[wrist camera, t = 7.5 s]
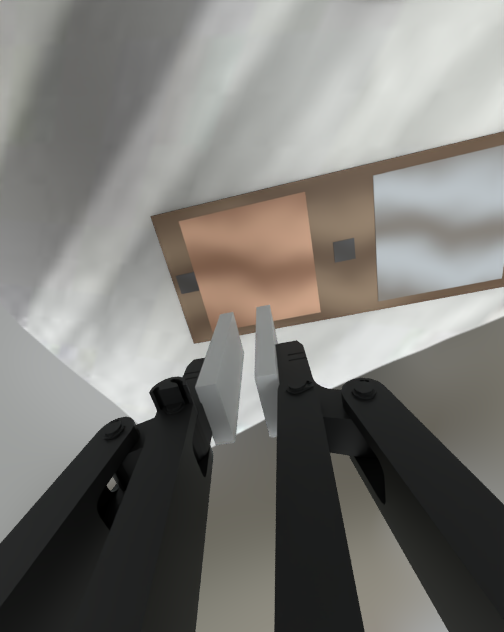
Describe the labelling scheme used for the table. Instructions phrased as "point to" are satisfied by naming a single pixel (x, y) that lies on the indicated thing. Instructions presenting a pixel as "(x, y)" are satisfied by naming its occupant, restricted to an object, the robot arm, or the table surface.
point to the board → (343, 240)
